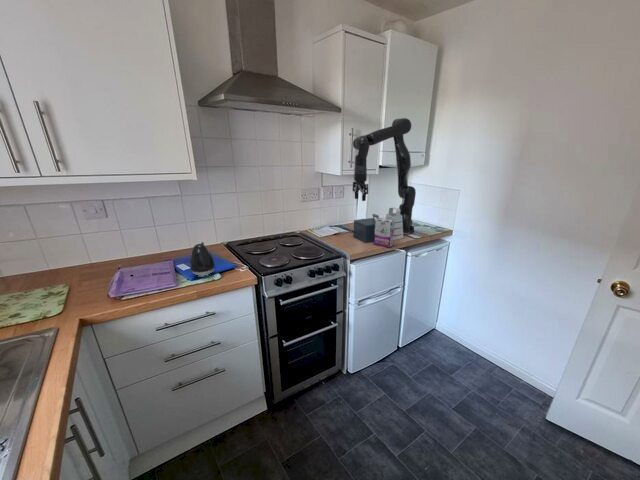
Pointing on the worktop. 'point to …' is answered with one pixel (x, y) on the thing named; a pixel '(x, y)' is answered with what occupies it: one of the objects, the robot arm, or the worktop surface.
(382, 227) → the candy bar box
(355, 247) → the worktop surface
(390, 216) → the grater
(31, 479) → the worktop surface
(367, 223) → the bin lid
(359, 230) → the bin
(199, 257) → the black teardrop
